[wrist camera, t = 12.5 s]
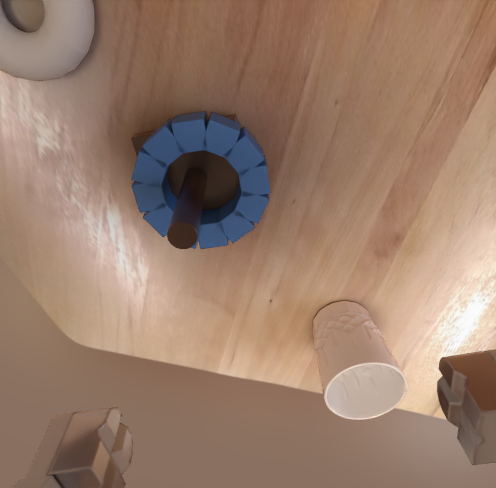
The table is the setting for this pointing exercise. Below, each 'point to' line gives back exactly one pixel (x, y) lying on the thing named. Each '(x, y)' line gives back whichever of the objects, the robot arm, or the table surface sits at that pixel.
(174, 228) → the post
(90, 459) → the robot arm
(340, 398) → the white cup
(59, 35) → the donut
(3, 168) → the table surface
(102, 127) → the table surface
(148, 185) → the ring
